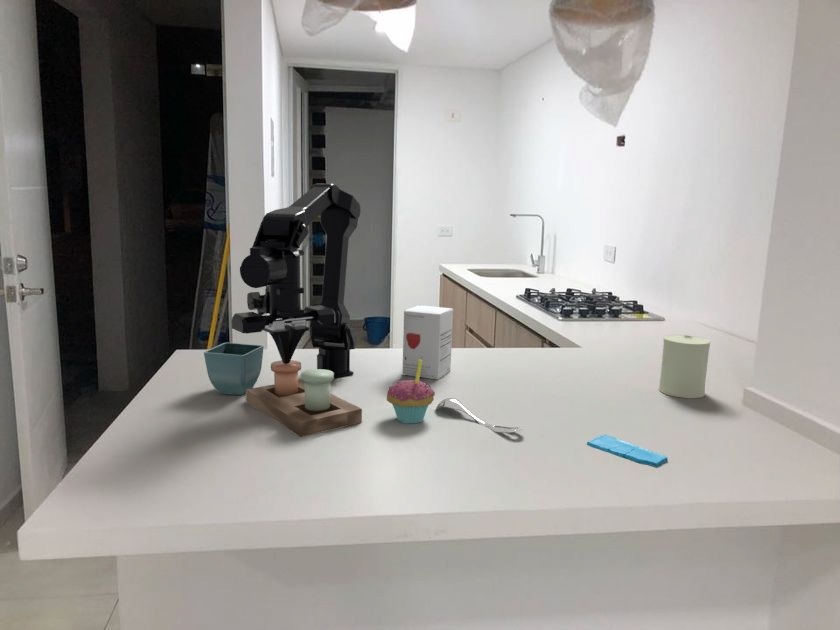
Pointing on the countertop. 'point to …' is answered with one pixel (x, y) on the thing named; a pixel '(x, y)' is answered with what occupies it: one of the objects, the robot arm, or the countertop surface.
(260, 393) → the panel
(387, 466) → the countertop surface
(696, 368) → the can
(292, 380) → the terracotta plunger
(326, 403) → the sage plunger
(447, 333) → the supplement box
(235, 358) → the flower pot
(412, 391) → the cupcake
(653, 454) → the blue flat block
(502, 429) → the silver spoon
